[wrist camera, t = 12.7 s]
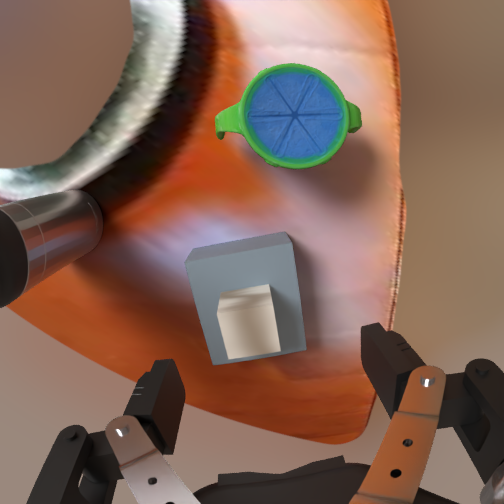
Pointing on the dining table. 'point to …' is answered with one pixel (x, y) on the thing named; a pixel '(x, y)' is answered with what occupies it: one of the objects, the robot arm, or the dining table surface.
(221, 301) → the cream cube
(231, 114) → the snack cup
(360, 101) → the dining table surface
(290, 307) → the slate stand
